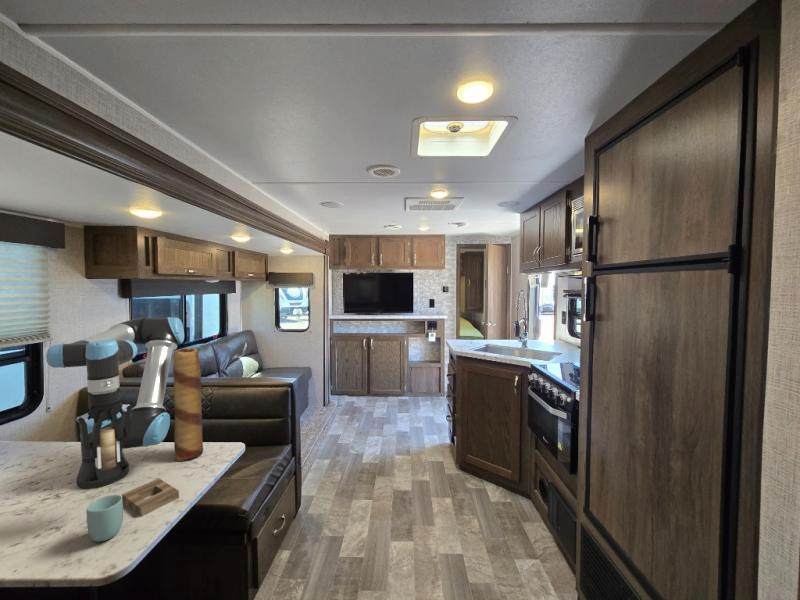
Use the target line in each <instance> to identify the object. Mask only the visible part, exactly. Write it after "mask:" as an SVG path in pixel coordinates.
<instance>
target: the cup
mask: <svg viewBox="0 0 800 600" xmlns="http://www.w3.org/2000/svg"><path fill="white" fill-rule="evenodd" d="M123 520H124V502H123V500H122V495H120V494H110V495H105V496H103V497H100V498H97V499H96V500H94V501H93V502H91V503H90V504H89V505H88V506H87V508H86V527H87V533H88V536H89V539H91V541H94V542H97V543H98V542H100V543H101V542H104V541H105V542H106V541H108V540H110V539H112V538H114V537H115V536H116V535H117V534H118V533H120V530H121V528H122V525H123V522H124V521H123Z"/></svg>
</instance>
